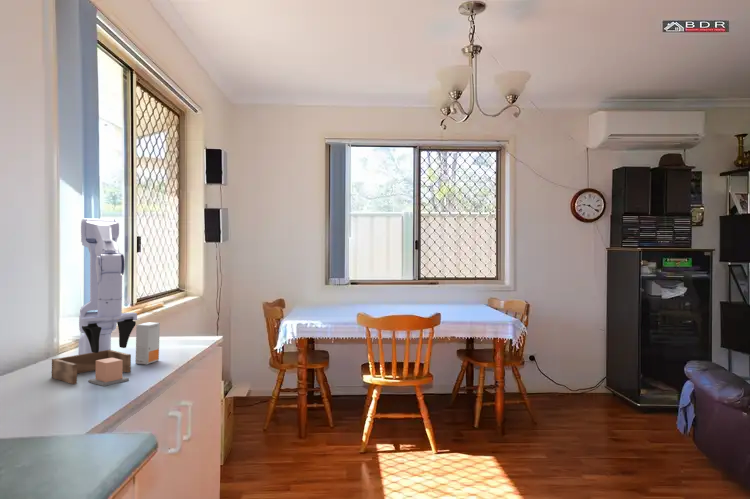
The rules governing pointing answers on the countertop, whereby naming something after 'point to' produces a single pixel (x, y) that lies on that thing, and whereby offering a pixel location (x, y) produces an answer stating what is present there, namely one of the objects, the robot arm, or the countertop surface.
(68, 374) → the open box
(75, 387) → the countertop surface
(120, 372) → the block
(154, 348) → the skincare box
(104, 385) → the mat
